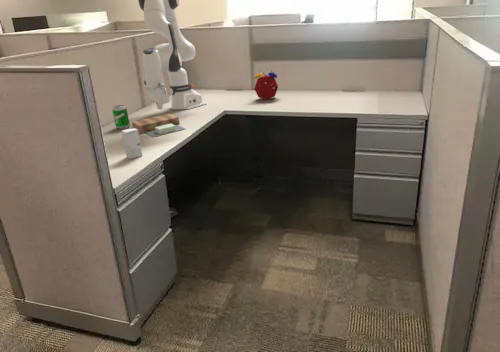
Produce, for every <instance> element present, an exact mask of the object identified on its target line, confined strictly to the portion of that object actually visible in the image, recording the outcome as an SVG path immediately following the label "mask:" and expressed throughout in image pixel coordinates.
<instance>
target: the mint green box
mask: <svg viewBox="0 0 500 352" xmlns="http://www.w3.org/2000/svg"><path fill="white" fill-rule="evenodd" d="M175 130H176V126H175V125H173V124H167V125H162V126H158V127H155V131H156V132H157V133H159V134H163V133H167V132H171V131H175Z"/></svg>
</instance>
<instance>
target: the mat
mask: <svg viewBox="0 0 500 352" xmlns="http://www.w3.org/2000/svg"><path fill="white" fill-rule="evenodd" d="M175 126H176V130H175V131H171V132H167V133H163V134H159V133H157V132H156V131H155V130H153V131H149V132H145V133H144V134H146V133H147V135H148V136H150V137H151V138H156V137H160V136H164V135H168V134H173V133H176V132H180V131H184V130H186V128H185V127H183V126H180V124H179V125H175Z"/></svg>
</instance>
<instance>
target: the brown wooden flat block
mask: <svg viewBox="0 0 500 352" xmlns="http://www.w3.org/2000/svg"><path fill="white" fill-rule="evenodd" d="M131 123H132V128H136V129H137V130H138V133H139V132H140V133H139V134H141V133H142V134H145V133H144V132H149V131H153V130H155V127H158V126H162V125H167V124H173V125H179V126H180V124H181V123H180V117H179V116H177V115H174V114H172V113H165V114H161V115H156V116H152V117H148V118H144V119H139V120H134V121H131Z"/></svg>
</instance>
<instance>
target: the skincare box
mask: <svg viewBox="0 0 500 352" xmlns="http://www.w3.org/2000/svg"><path fill="white" fill-rule="evenodd" d="M139 134H140V133H139V132H138V130H137V129H136V128H133V127H132V128H128V129H127V128H126V129H122V130H121V135H122V139H123V145H124V149H125V154H126V157H127V158H128V159H129V160H132V159H135V158H138V157H142V156H143V151H142V146H141V140H140V135H139Z"/></svg>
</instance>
